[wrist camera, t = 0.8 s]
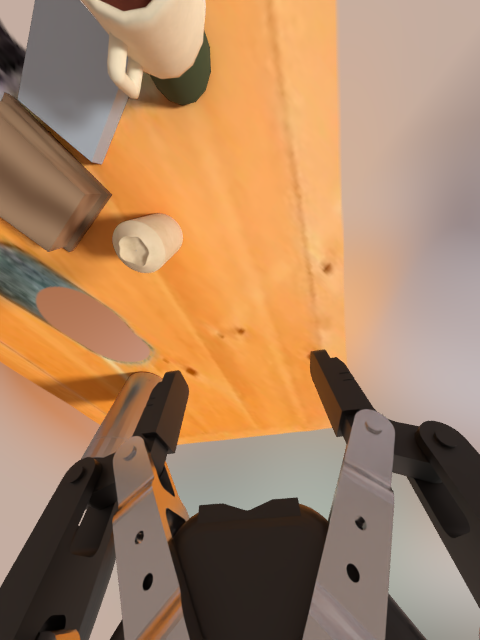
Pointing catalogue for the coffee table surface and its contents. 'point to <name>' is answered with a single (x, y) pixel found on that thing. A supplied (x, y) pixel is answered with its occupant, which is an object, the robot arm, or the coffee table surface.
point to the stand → (44, 182)
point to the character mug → (156, 45)
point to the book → (71, 77)
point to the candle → (147, 241)
